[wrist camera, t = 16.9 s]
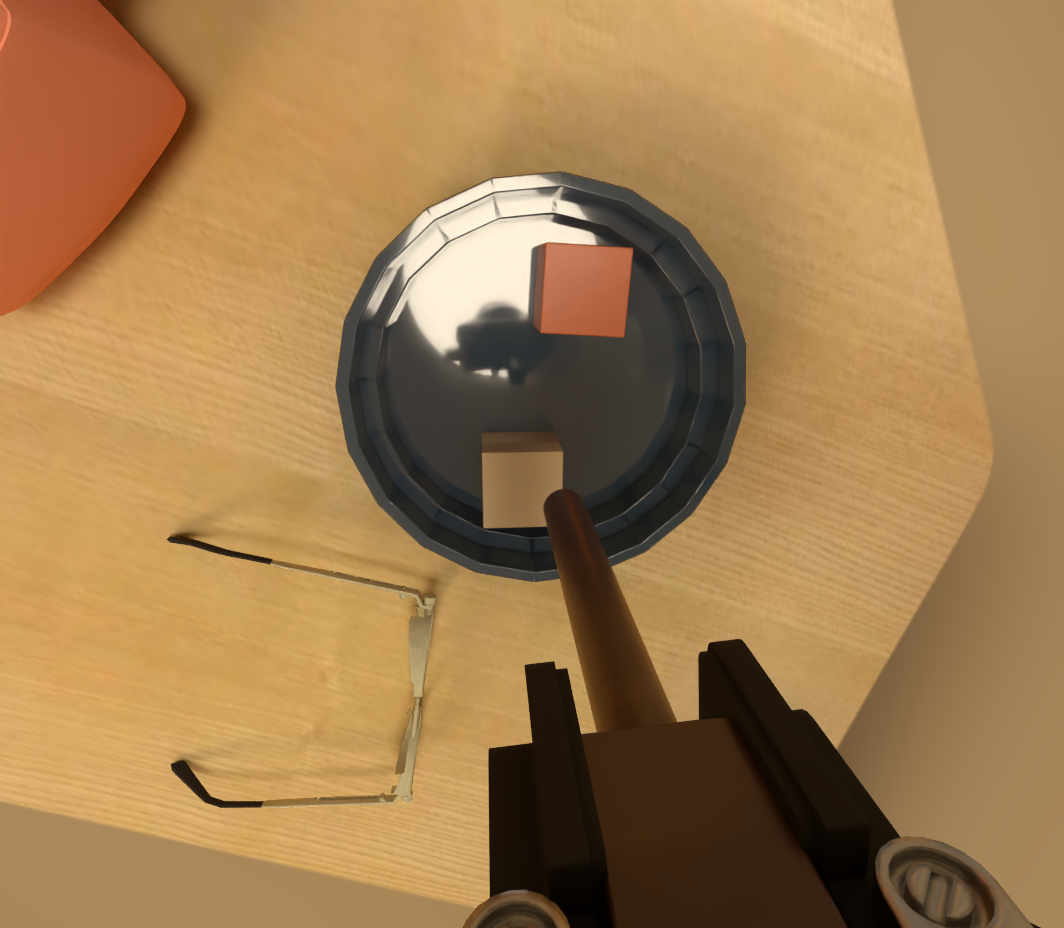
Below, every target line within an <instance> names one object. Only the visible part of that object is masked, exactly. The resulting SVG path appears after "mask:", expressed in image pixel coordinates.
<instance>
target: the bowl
mask: <svg viewBox="0 0 1064 928" xmlns="http://www.w3.org/2000/svg"><path fill="white" fill-rule="evenodd" d="M546 242H555V243H570V244H585V245H600V246H616V247H631V248H633V259H632V269H631V279H630V289H629V299H628V309H627V318H626V328H625V336H624V337H623V338H621V337H602V336H583V335H564V334H545V333H540V332H539V331H538V330H537V329H536V328H535V327H534V325H533V320H534V303H535V286H536V269H537V251H538V246H539V245H541V244H543V243H546ZM335 386H336V393H337V398H338V403H339V408H340V414H341V419H342V424H343V429H344V434H345V440H346V445H347V449H348V452H349V454H350V456H351V458H352V459H353V461H354V463H355V465H356V467H357V468H358V470H359V472H360V474H361V476H362V477H363V479H364V481H365V483H366V485H367V486H368V488H369V490H370V492H371V494H372V495H373V497H374V499H375V501H376V503H377V504H378V505H379V506H380V507H381V508H382V509H383V510H384V511H385V512H386V513H387V514H388V515H389V516H390V517H391V518H392V519H393V520H394V521H396V522H397V523H398V524H399V525H400V526H401V527H402V528H403V529H404V530H405V531H406V532H407V533H408V534H409V535H410V536H412V537H413V538H414V539H415V540H416V541H417V542H418V543H419V544H420V545H421V546H423V547H424V548H426V549H428V550H430V551H433V552H435V553H437V554H439V555H441V556H443V557H445V558H447V559H449V560H451V561H453V562H455V563H457V564H459V565H461V566H463V567H465V568H467V569H469V570H472V571H474V572H477V573H481V574H487V575H494V576H500V577H506V578H512V579H518V580H524V581H530V582H539V581H547V580H555V579H560V578H559V574H558V570H557V566H556V562H555V558H554V553H553V549H552V545H551V541H550V537H549V533H548V529H547V527H515V528H483V490H482V433H488V432H551V431H553V432H554V433H555V435H556V437H557V439H558V441H559V444H560V446H561V448H562V450H563V489H570V490H573V491H575V492H576V493H578V494H579V495H580V496H581V498H582V499H583V502H584V504H585V506H586V509H587V511H588V513H589V516H590V518H591V520H592V523H593V525H594V527H595V530H596V532H597V535H598V537H599V539H600V542H601V544H602V546H603V549H604V551H605V553H606V556H607V558H608V560H609V563H610V565H611V567H612V566H614V565H616V564H619V563H621V562H623V561H626V560H628V559H630V558H633V557H635V556H637V555H640V554H642V553H644V552H646V551H648V550H649V549H650V548H651V547H653V546H654V545H655V544H656V543H657V542H659V541H660V540H661V539H662V538H664V537H665V536H666V535H667V534H668V533H670V532H671V531H672V530H673V529H675V528H676V527H677V526H678V525H679V524H681V523H682V522H683V521H684V520H686V519H687V518H688V517H689V516H690V515H691V514H692V513H693V512H694V511H695V509H696V508H697V506H698V505H699V504H700V502H701V501H702V499H703V498H704V496H705V495H706V493H707V492H708V490H709V489H710V488H711V486H712V485H713V483H714V482H715V480H716V479H717V477H718V476H719V474H720V473H721V472H722V470H723V469H724V467H725V466H726V464H727V461H728V458H729V455H730V452H731V449H732V446H733V442H734V439H735V436H736V433H737V430H738V427H739V424H740V421H741V417H742V414H743V411H744V408H745V405H746V343H745V338H744V335H743V332H742V329H741V326H740V323H739V319H738V316H737V313H736V310H735V307H734V304H733V301H732V297H731V294H730V291H729V288H728V285H727V282H726V280H725V278H724V277H723V276H722V274H721V273H720V272H719V270H718V269H717V268H716V266H715V265H714V263H713V262H712V261H711V259H710V258H709V257H708V255H707V254H706V253H705V251H704V250H703V249H702V247H701V246H700V244H699V243H698V242H697V240H696V239H695V238H694V236H693V235H692V234H691V232H690V231H689V230H688V228H686V226H684V225H683V224H681V223H680V222H678V221H677V220H675V219H674V218H672V217H671V216H669V215H668V214H667V213H665V212H664V211H662V210H661V209H659V208H658V207H656V206H655V205H653V204H652V203H650V202H649V201H647V200H646V199H644V198H643V197H641V196H640V195H639V194H637V193H636V192H634V191H633V190H629V188H625V187H621V186H617V185H613V184H609V183H606V182H602V181H598V180H594V179H590V178H586V177H582V176H578V175H574V174H571V173H567V172H561V171H560V172H549V173H538V174H528V175H517V176H506V177H495V178H491V179H488V180H486V181H483V182H481V183H479V184H477V185H475V186H473V187H471V188H468V189H466V190H464V191H462V192H460V193H458V194H456V195H453V196H451V197H449V198H447V199H445V200H443V201H441V202H438V203H436V204H434V205H432V206H430V207H428V208H427V209H425V210H424V211H423V212H422V213H421V214H420V215H419V216H418V217H417V218H415V219H414V220H413V221H412V222H411V223H410V224H409V225H408V226H407V227H406V228H405V229H404V230H403V231H402V232H401V233H400V234H399V235H398V236H397V237H396V238H395V239H394V240H393V241H392V242H391V243H390V244H389V245H388V246H387V247H386V248H385V249H384V250H383V251H382V252H381V253H380V254H379V255H378V256H377V257H376V259H374V261H373V263H372V265H371V267H370V269H369V271H368V273H367V275H366V277H365V279H364V281H363V283H362V285H361V287H360V290H359V292H358V294H357V296H356V298H355V300H354V302H353V304H352V306H351V308H350V310H349V312H348V314H347V316H346V318H345V321H344V325H343V332H342V340H341V347H340V355H339V362H338V370H337V377H336V385H335Z"/></svg>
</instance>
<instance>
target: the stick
mask: <svg viewBox="0 0 1064 928" xmlns="http://www.w3.org/2000/svg"><path fill="white" fill-rule="evenodd" d="M543 512H544V516H545V520H546V525H547V529H548V533H549V537H550V541H551V545H552V549H553V553H554V558H555V562H556V566H557V570H558V574H559V578H560V582H561V586H562V590H563V595H564V599H565V603H566V607H567V611H568V615H569V619H570V623H571V628H572V632H573V636H574V640H575V644H576V648H577V652H578V656H579V660H580V665H581V669H582V673H583V677H584V681H585V685H586V689H587V693H588V697H589V702H590V706H591V710H592V714H593V718H594V722H595V726H596V730H597V732H596V733H588V734H581V737H582V741H583V746H584V751H585V756H586V760H587V765H588V770H589V775H590V779H591V784H592V789H593V794H594V798H595V803H596V808H597V813H598V817H599V822H600V827H601V832H602V836H603V842H604V847H605V854H606V860H607V868H608V878H606V879H605V880H604V894H605V908H606V922H607V928H848V927H847V925H846V923H845V921H844V919H843V917H842V916H841V914H840V912H839V910H838V908H837V907H836V905H835V903H834V901H833V899H832V898H831V896H830V894H829V892H828V890H827V888H826V887H825V885H824V883H823V881H822V879H821V878H820V876H819V874H818V872H817V870H816V869H815V867H814V865H813V863H812V861H811V859H810V858H809V856H808V854H807V852H806V851H804V850H803V849H802V847H801V845H800V843H799V841H798V839H797V838H796V836H795V834H794V832H793V830H792V829H791V827H790V825H789V823H788V821H787V819H786V818H785V816H784V814H783V812H782V810H781V808H780V807H779V805H778V803H777V801H776V799H775V798H774V796H773V794H772V792H771V790H770V788H769V787H768V785H767V783H766V781H765V779H764V777H763V776H762V774H761V772H760V770H759V768H758V767H757V765H756V763H755V761H754V759H753V757H752V756H751V754H750V752H749V750H748V748H747V747H746V745H745V743H744V741H743V739H742V737H741V736H740V734H739V732H738V730H737V728H736V726H735V725H734V723H733V721H732V719H731V717H730V716H724V717H716V718H708V719H700V720H692V721H684V722H677V720H676V718H675V715H674V713H673V711H672V708H671V706H670V704H669V701H668V699H667V697H666V694H665V692H664V690H663V687H662V685H661V683H660V680H659V678H658V676H657V673H656V671H655V668H654V666H653V664H652V661H651V659H650V657H649V654H648V652H647V650H646V647H645V645H644V643H643V640H642V638H641V636H640V633H639V631H638V629H637V626H636V624H635V621H634V619H633V617H632V614H631V612H630V610H629V607H628V605H627V603H626V600H625V598H624V596H623V593H622V591H621V589H620V586H619V584H618V582H617V579H616V577H615V574H614V572H613V570H612V567H611V565H610V563H609V560H608V558H607V556H606V553H605V551H604V549H603V546H602V544H601V542H600V539H599V537H598V535H597V532H596V530H595V527H594V525H593V523H592V520H591V518H590V516H589V513H588V511H587V509H586V506H585V504H584V502H583V499H582V498H581V496H580V495H579V494H578V493H576V492H575V491H573V490H570V489H559V490H556V491H554V492H553V493H551V494H550V495H549V496H548V497H547V498H546V500H545V502H544V506H543Z"/></svg>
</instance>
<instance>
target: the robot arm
mask: <svg viewBox="0 0 1064 928" xmlns="http://www.w3.org/2000/svg"><path fill="white" fill-rule="evenodd" d="M698 664H699V720H700V719H708V718H716V717H724V716H730V717H731V719H732V721H733V723H734V725H735V726H736V728H737V730H738V732H739V734H740V736H741V737H742V739H743V741H744V743H745V745H746V747H747V748H748V750H749V752H750V754H751V756H752V757H753V759H754V761H755V763H756V765H757V767H758V768H759V770H760V772H761V774H762V776H763V777H764V779H765V781H766V783H767V785H768V787H769V788H770V790H771V792H772V794H773V796H774V798H775V799H776V801H777V803H778V805H779V807H780V808H781V810H782V812H783V814H784V816H785V818H786V819H787V821H788V823H789V825H790V827H791V829H792V830H793V832H794V834H795V836H796V838H797V839H798V841H799V843H800V845H801V847H802V849H803V850H804V851H806V852H807V854H808V856H809V858H810V859H811V861H812V863H813V865H814V867H815V869H816V870H817V872H818V874H819V876H820V878H821V879H822V881H823V883H824V885H825V887H826V888H827V890H828V892H829V894H830V896H831V898H832V899H833V901H834V903H835V905H836V907H837V908H838V910H839V912H840V914H841V916H842V917H843V919H844V921H845V923H846V925H847V927H848V928H1040V927H1038V926H1036V925H1034V924H1032V923H1030V922H1029V921H1028V920H1027V919H1026V917H1025V916H1024V915H1023V913H1022V912H1021V911H1020V910H1019V908H1018V907H1017V906H1016V905H1015V903H1014V902H1013V901H1012V900H1011V898H1010V897H1009V896H1008V895H1007V893H1006V892H1005V891H1004V889H1003V888H1002V887H1001V886H1000V884H999V883H998V882H997V881H996V880H995V879H994V877H993V876H992V875H991V874H990V873H989V872H988V871H987V870H986V869H985V868H984V867H983V866H982V865H981V864H979V863H978V862H977V861H975V860H974V859H972V858H971V857H969V856H968V855H967V854H965V853H964V852H962V851H960V850H958V849H956V848H954V847H952V846H949V845H948V844H945V843H943V842H940V841H936V840H932V839H929V838H925V837H908V836H905V837H902V838H901V837H900V836H899V835H898V833H897V832H896V830H895V829H894V828H893V826H892V825H891V824H890V822H889V821H888V819H887V818H886V817H885V815H884V814H883V813H882V811H881V810H880V809H879V807H878V806H877V805H876V803H875V802H874V800H873V799H872V798H871V796H870V795H869V794H868V792H867V791H866V790H865V788H864V787H863V785H862V784H861V783H860V781H859V780H858V779H857V777H856V776H855V775H854V773H853V772H852V770H851V769H850V768H849V766H848V765H847V764H846V762H845V761H844V760H843V758H842V757H841V756H840V754H839V753H838V751H837V750H836V749H835V747H834V746H833V745H832V743H831V742H830V740H829V739H828V738H827V736H826V735H825V734H824V732H823V731H822V730H821V728H820V727H819V725H818V724H817V723H816V721H815V720H814V719H813V717H812V716H811V715H810V714H809V713H808V712H807V711H805V710H803V709H798V710H791V709H790V707H789V706H788V704H787V703H786V701H785V700H784V698H783V697H782V696H781V694H780V693H779V691H778V690H777V688H776V687H775V686H774V684H773V683H772V681H771V680H770V678H769V677H768V676H767V674H766V673H765V671H764V670H763V668H762V667H761V666H760V664H759V663H758V661H757V660H756V658H755V657H754V656H753V654H752V653H751V651H750V650H749V648H748V647H747V646H746V644H745V643H744V642H743V641H742V640H741V639H735V640H727V641H718V642H710V643H709V645H708V651H705V652H700V653H699V659H698ZM525 674H526V683H527V693H528V702H529V712H530V722H531V731H532V741H533V743H529V744H521V745H513V746H505V747H497V748H489V854H490V898H489V899H488V900H486V901H485V902H483V903H482V904H480V905H479V906H478V907H477V908H476V909H475V910H474V912H473V913H472V914H471V915H470V916H469V918H468V919H467V920H466V922H465V924H464V926H463V928H607V922H606V908H605V894H604V880H605V879H606V878H608V868H607V860H606V854H605V847H604V842H603V836H602V832H601V827H600V822H599V817H598V813H597V808H596V803H595V798H594V794H593V789H592V784H591V779H590V775H589V770H588V765H587V760H586V756H585V751H584V746H583V741H582V737H581V732H580V727H579V722H578V718H577V713H576V708H575V703H574V699H573V694H572V689H571V684H570V680H569V675H568V670H567V668H565V669H557V670H556V668H555V663H554V661H553V662H544V663H536V664H528V665H525Z"/></svg>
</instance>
